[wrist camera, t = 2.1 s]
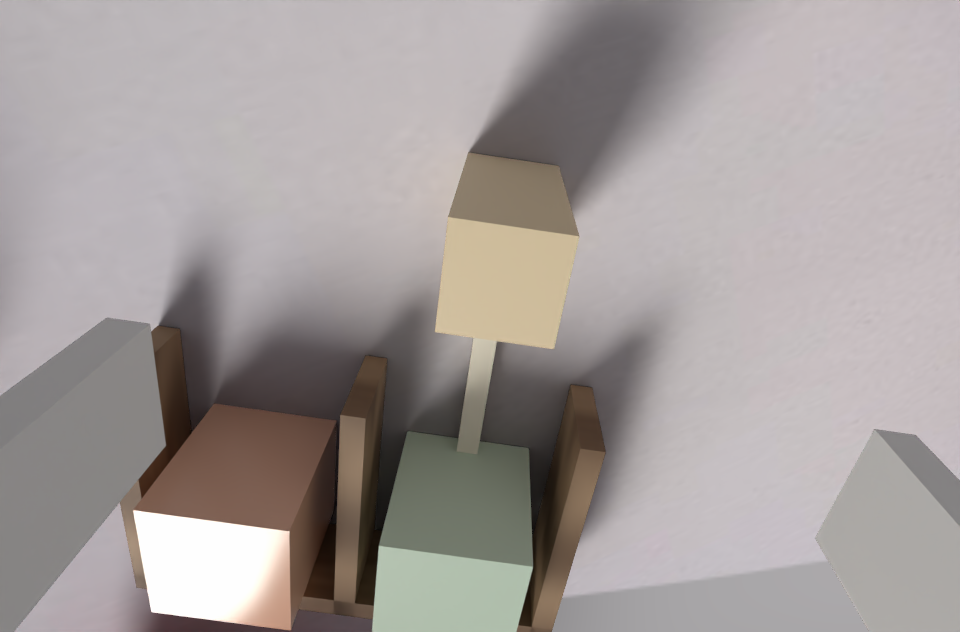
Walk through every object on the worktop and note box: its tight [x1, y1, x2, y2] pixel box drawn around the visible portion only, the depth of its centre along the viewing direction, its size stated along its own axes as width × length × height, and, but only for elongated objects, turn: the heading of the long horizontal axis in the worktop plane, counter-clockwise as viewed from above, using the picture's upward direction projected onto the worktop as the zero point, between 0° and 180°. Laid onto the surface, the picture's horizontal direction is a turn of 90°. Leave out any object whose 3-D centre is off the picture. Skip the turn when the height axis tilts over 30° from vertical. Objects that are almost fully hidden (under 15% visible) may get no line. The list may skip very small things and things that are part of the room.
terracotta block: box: [133, 403, 337, 630], centre depth 27 cm, size 6×6×7 cm
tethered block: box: [372, 152, 579, 632], centre depth 24 cm, size 20×6×8 cm, turn 172°
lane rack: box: [120, 326, 606, 632], centre depth 28 cm, size 12×20×4 cm, turn 82°
